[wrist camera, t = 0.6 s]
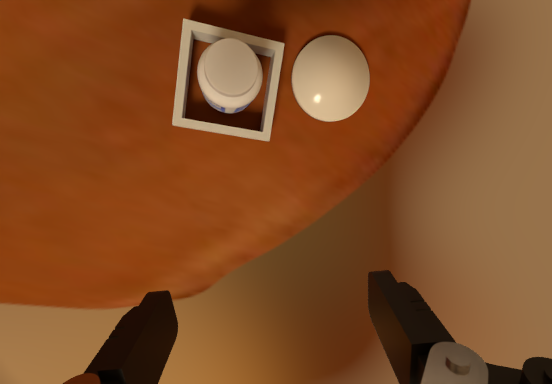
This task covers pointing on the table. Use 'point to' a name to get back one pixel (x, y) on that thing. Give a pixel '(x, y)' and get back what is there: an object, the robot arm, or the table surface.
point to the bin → (189, 33)
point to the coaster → (330, 78)
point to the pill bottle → (229, 75)
